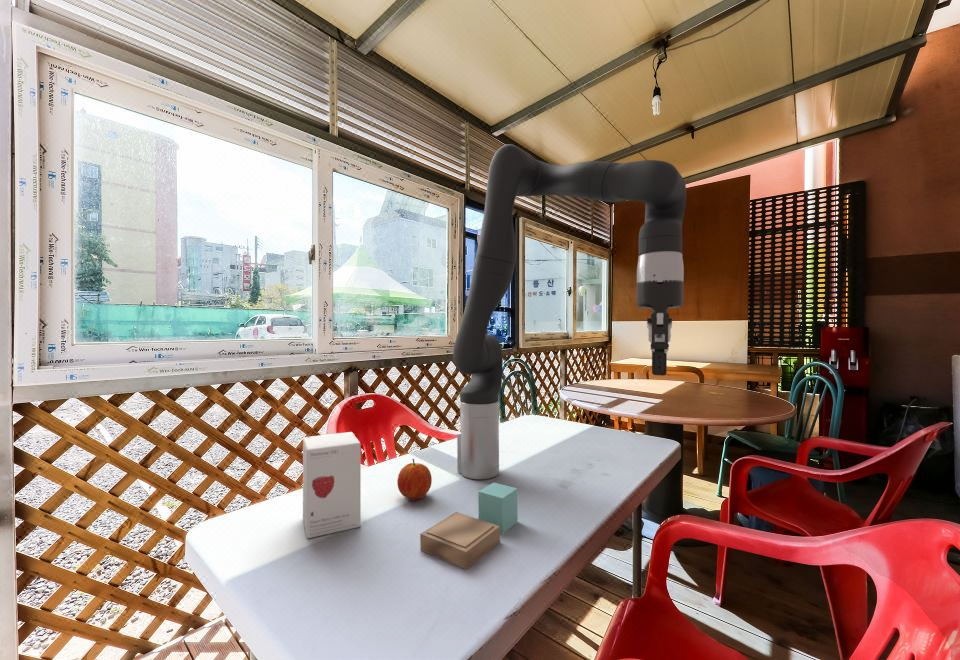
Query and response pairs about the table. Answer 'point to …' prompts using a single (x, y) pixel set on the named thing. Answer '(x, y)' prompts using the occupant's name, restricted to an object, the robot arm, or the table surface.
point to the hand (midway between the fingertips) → (658, 372)
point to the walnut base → (460, 539)
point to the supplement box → (331, 483)
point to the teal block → (498, 505)
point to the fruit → (414, 480)
